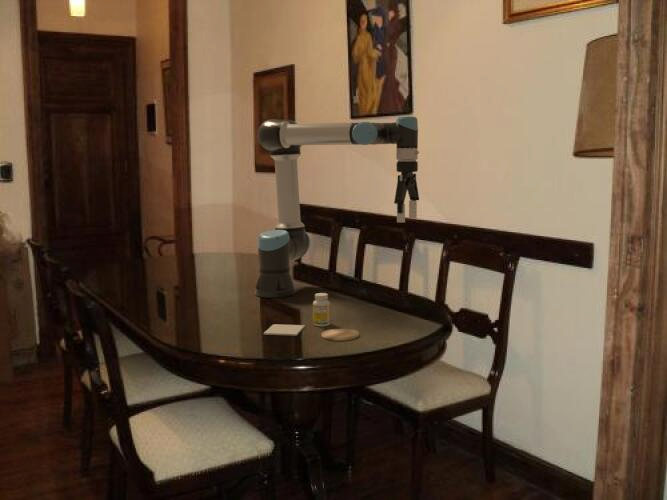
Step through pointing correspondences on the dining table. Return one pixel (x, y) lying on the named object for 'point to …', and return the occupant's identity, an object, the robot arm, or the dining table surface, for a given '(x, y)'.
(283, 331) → the felt mat
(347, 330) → the cork coaster
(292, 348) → the dining table surface
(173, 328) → the dining table surface
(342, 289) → the dining table surface
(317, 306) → the supplement bottle
